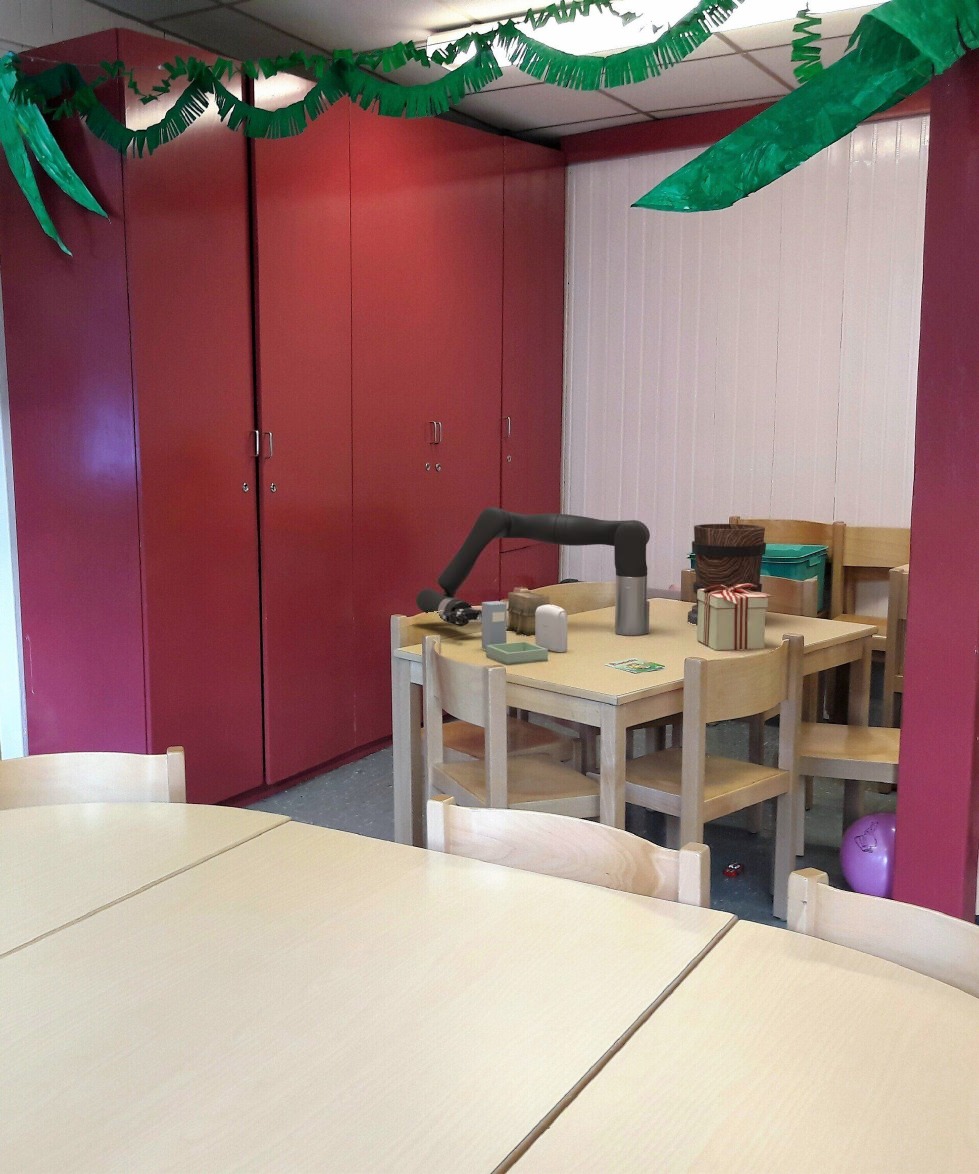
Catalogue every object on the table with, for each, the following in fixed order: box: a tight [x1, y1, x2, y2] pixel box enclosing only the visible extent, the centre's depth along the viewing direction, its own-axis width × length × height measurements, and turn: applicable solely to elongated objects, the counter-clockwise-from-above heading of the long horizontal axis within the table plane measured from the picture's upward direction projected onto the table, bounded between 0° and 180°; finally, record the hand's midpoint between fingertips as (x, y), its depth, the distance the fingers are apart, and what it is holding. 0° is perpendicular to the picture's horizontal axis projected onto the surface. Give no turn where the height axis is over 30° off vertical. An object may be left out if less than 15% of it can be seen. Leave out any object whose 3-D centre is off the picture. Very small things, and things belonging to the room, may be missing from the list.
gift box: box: [696, 583, 775, 651], centre depth 299 cm, size 17×18×17 cm
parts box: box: [481, 600, 507, 651], centre depth 295 cm, size 5×5×13 cm
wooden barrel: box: [687, 523, 767, 625], centre depth 337 cm, size 24×30×30 cm
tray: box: [485, 640, 549, 666], centre depth 284 cm, size 12×12×3 cm
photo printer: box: [534, 604, 568, 653], centre depth 295 cm, size 10×4×12 cm, turn 39°
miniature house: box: [506, 590, 561, 637], centre depth 321 cm, size 15×14×11 cm
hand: (479, 619), depth 303 cm, fingers open, 8 cm apart
